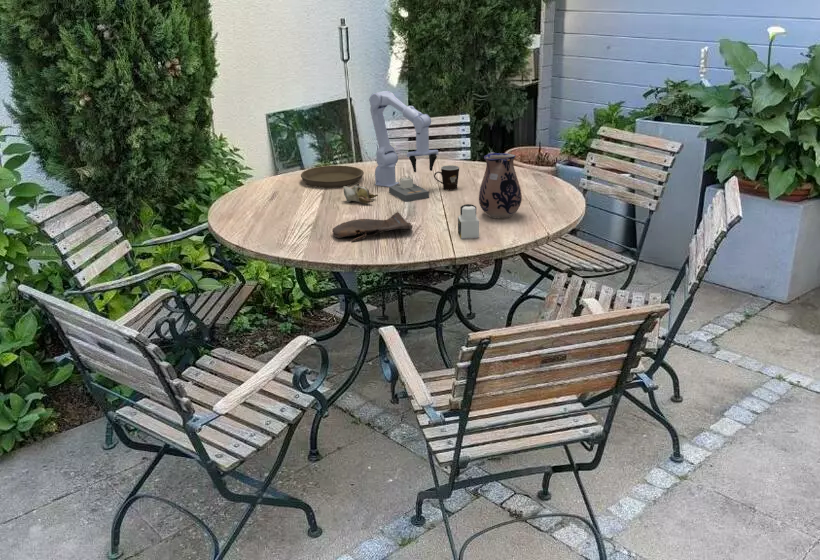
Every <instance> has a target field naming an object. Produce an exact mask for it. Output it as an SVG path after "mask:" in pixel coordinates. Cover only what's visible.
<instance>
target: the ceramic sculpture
mask: <svg viewBox="0 0 820 560" xmlns="http://www.w3.org/2000/svg"><path fill="white" fill-rule="evenodd" d="M342 189H343V196H344V197H345V200H346V202H348V203H351V202H356V203H361V204H362V203H363V204H370V203H373V202H374V200H372V199H374V198H376V197H378V196H379V194H377V193H376V194H374V193H371V192H370V191H369V189H368V188H367V187H366V186H361V185H360V183H355V184H353V186H352V187H349V186H343V187H342Z"/></svg>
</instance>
